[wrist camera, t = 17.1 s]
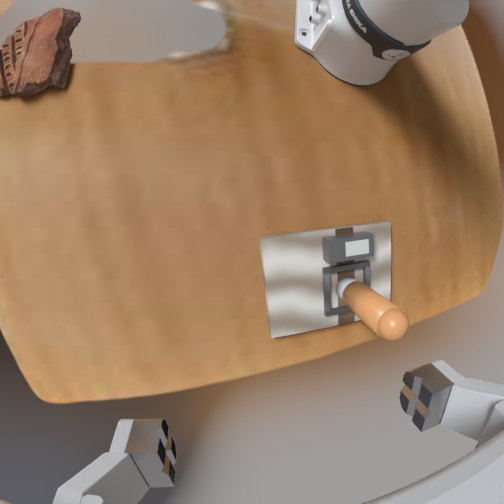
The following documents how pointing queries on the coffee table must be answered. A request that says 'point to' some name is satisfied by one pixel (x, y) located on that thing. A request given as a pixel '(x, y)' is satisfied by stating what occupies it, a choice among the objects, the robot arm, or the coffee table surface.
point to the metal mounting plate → (318, 277)
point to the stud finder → (348, 247)
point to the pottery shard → (38, 54)
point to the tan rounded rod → (373, 309)
